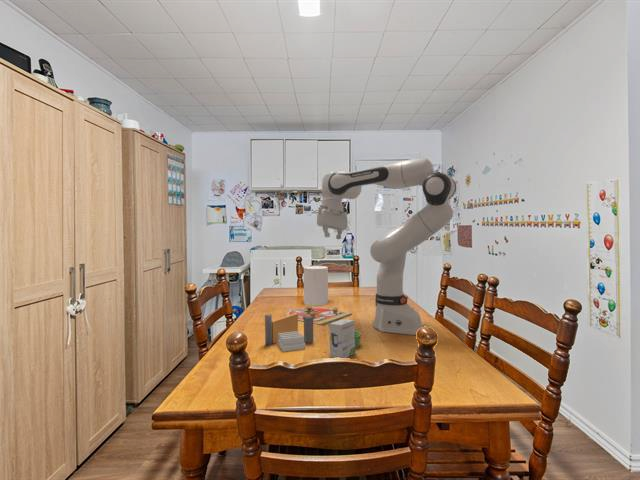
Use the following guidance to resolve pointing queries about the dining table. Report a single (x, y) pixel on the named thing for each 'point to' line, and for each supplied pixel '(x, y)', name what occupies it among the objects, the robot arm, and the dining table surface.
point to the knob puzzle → (319, 314)
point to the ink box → (342, 338)
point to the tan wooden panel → (284, 326)
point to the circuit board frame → (290, 335)
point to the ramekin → (357, 338)
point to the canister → (315, 285)
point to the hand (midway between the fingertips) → (333, 238)
